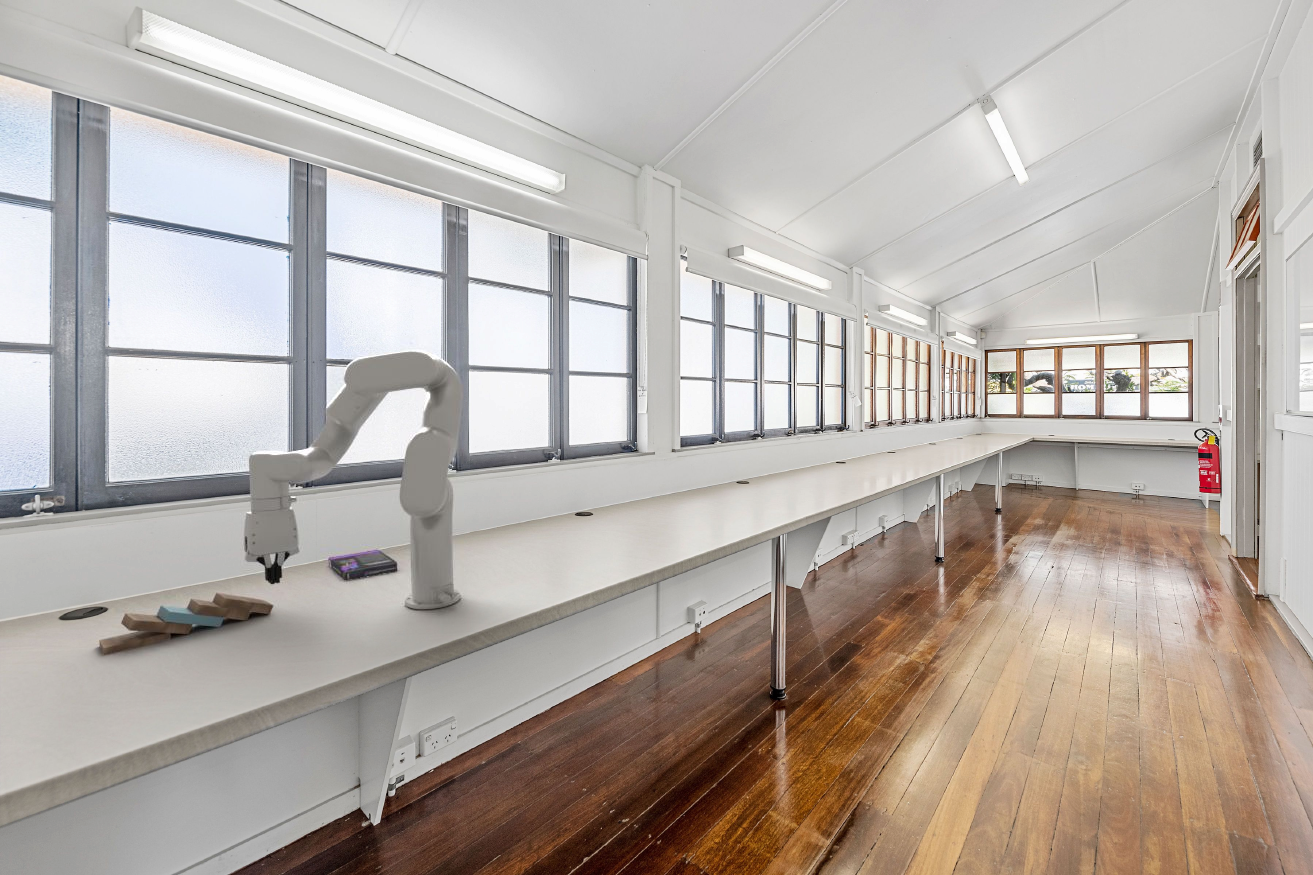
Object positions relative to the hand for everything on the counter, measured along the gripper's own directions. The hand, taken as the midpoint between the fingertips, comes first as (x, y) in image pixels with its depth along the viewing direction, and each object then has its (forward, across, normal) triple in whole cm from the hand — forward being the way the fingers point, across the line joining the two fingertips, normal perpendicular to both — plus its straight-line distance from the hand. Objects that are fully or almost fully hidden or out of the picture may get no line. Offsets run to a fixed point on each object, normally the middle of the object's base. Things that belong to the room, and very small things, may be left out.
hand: (273, 582), depth 136 cm
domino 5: (+6, +2, 0) cm, 6 cm away
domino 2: (+5, +16, 0) cm, 17 cm away
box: (+7, -28, -20) cm, 35 cm away
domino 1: (+6, +20, 0) cm, 20 cm away
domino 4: (+6, +6, 0) cm, 8 cm away
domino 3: (+6, +11, 0) cm, 12 cm away
